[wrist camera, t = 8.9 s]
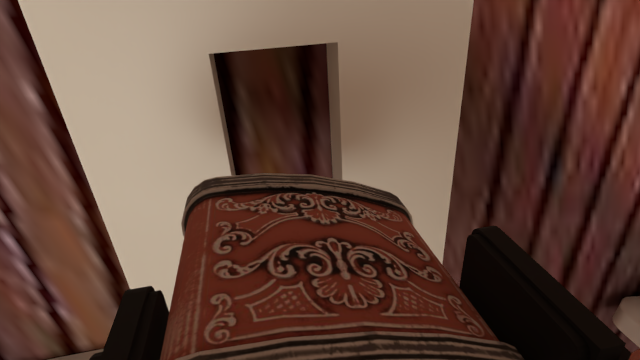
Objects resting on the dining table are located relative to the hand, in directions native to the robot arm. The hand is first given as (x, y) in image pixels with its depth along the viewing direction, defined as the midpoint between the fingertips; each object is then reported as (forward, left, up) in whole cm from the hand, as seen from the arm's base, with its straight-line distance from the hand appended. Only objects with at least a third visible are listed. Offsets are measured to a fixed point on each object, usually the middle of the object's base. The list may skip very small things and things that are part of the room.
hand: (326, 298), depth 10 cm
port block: (0, 0, -12) cm, 12 cm away
